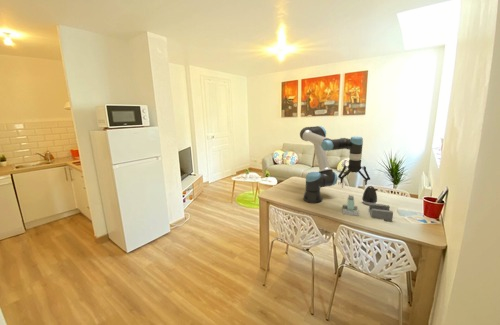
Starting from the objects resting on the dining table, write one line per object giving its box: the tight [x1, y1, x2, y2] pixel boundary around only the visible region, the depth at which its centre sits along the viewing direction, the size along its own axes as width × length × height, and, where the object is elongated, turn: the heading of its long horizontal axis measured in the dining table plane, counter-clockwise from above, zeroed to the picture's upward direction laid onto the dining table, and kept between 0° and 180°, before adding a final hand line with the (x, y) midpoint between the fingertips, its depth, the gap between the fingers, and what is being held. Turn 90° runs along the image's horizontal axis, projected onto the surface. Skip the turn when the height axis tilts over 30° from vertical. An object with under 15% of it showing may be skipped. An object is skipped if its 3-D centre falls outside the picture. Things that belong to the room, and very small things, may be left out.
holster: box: [341, 204, 360, 217], centre depth 150 cm, size 10×10×4 cm
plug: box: [346, 194, 355, 210], centre depth 149 cm, size 4×5×12 cm
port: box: [368, 203, 394, 223], centre depth 144 cm, size 12×12×7 cm
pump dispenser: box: [361, 185, 379, 206], centre depth 161 cm, size 10×10×15 cm
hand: (352, 188), depth 147 cm, fingers open, 13 cm apart
